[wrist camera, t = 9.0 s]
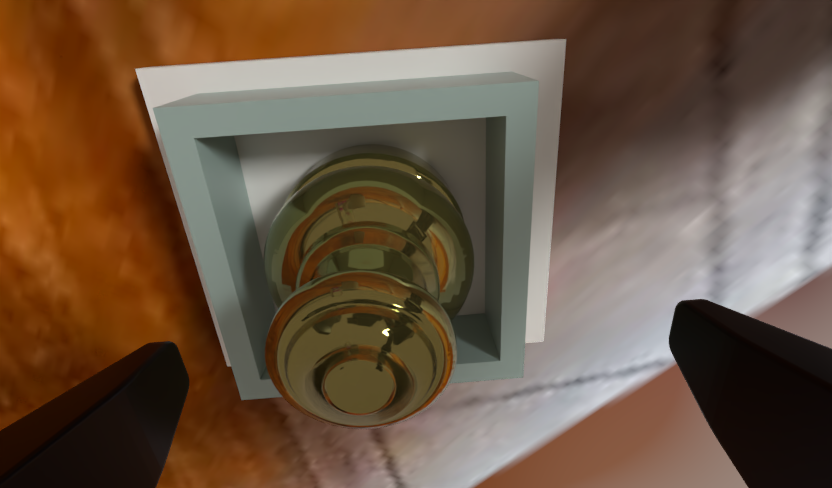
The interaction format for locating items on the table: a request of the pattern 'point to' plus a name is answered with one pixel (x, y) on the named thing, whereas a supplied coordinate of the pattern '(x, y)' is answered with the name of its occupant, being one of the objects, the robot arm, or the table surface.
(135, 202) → the table surface
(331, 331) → the gold rounded piece
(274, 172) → the grey green tray
